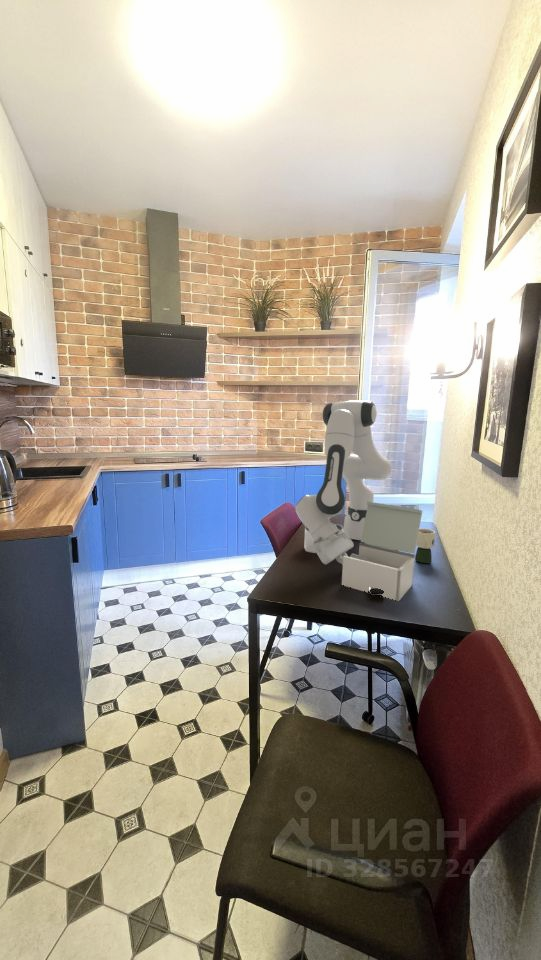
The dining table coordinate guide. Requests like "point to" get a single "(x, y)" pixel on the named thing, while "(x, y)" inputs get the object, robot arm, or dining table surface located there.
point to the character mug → (425, 545)
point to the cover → (391, 526)
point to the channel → (379, 571)
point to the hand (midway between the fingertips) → (348, 565)
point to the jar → (309, 541)
